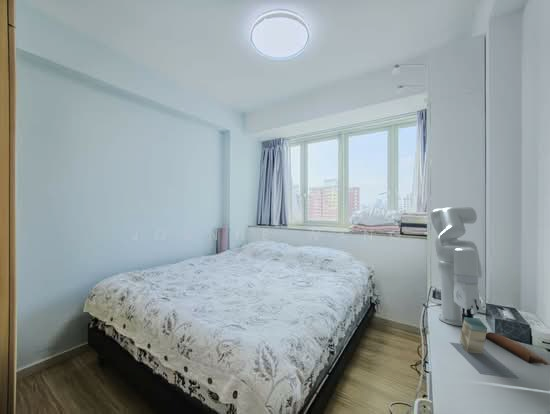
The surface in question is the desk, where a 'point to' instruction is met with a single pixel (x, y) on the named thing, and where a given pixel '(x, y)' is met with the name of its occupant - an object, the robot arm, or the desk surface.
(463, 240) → the robot arm
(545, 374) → the desk surface
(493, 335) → the sunglasses case
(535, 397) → the desk surface
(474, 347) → the wooden block
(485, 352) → the charcoal mat
